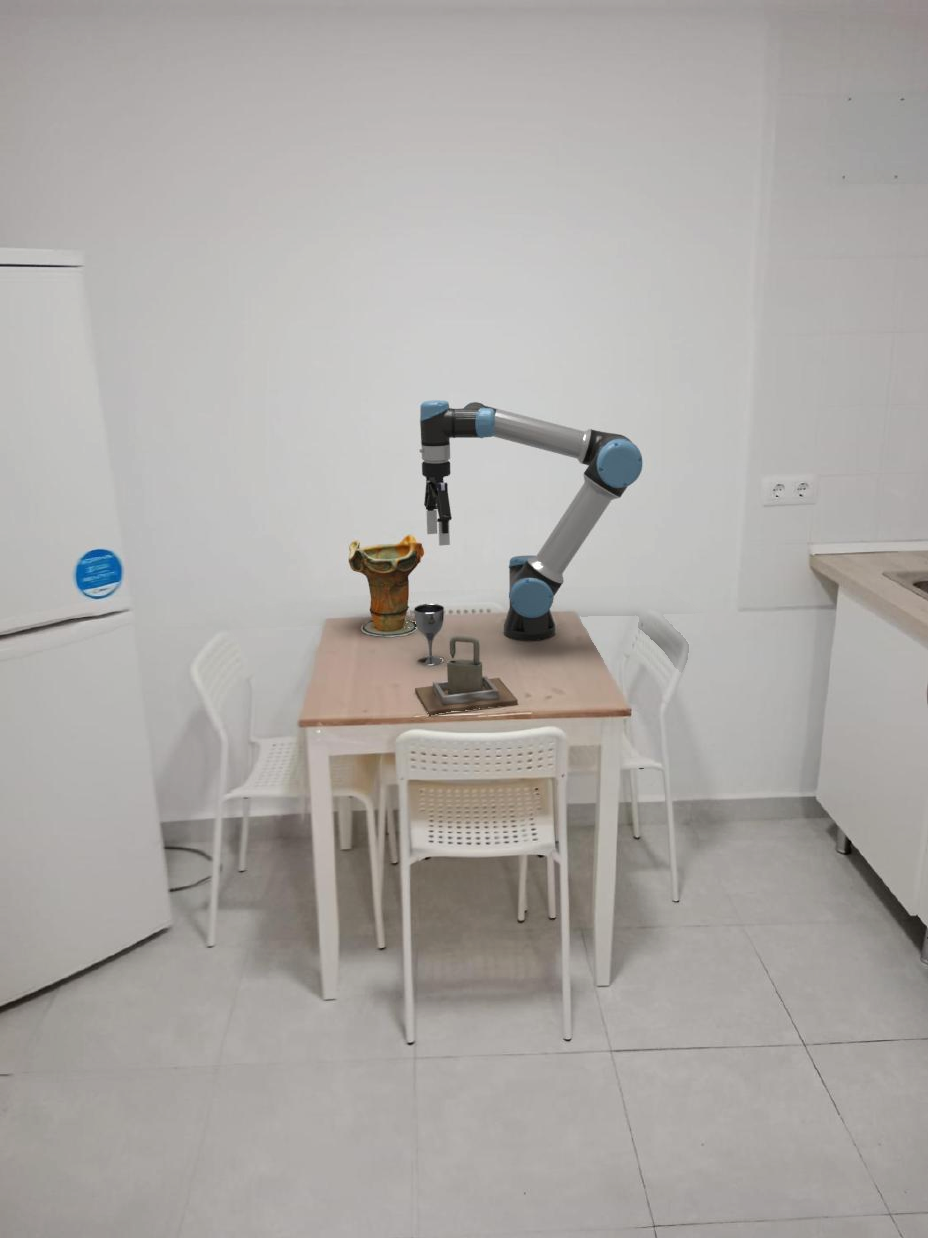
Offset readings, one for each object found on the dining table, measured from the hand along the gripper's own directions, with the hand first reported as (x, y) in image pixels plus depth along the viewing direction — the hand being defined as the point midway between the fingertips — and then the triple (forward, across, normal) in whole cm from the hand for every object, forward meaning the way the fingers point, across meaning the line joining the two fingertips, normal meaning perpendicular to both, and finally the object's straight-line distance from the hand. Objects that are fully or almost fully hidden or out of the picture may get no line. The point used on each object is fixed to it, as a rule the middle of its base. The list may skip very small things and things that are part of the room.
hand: (438, 539), depth 255 cm
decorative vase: (+32, -23, -10) cm, 41 cm away
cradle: (+32, +36, -3) cm, 48 cm away
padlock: (+31, +36, -3) cm, 47 cm away
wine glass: (+32, +8, -5) cm, 33 cm away
